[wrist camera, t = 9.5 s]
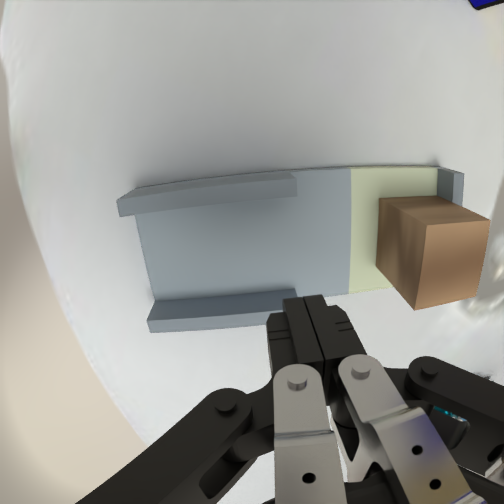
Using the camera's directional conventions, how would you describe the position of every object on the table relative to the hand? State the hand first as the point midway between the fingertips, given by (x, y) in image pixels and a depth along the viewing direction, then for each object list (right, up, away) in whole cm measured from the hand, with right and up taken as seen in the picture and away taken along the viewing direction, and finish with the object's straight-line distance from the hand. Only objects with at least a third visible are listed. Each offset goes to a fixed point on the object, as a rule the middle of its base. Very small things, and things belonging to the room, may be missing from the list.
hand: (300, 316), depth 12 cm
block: (+9, +4, +8) cm, 13 cm away
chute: (+2, +4, +9) cm, 10 cm away
